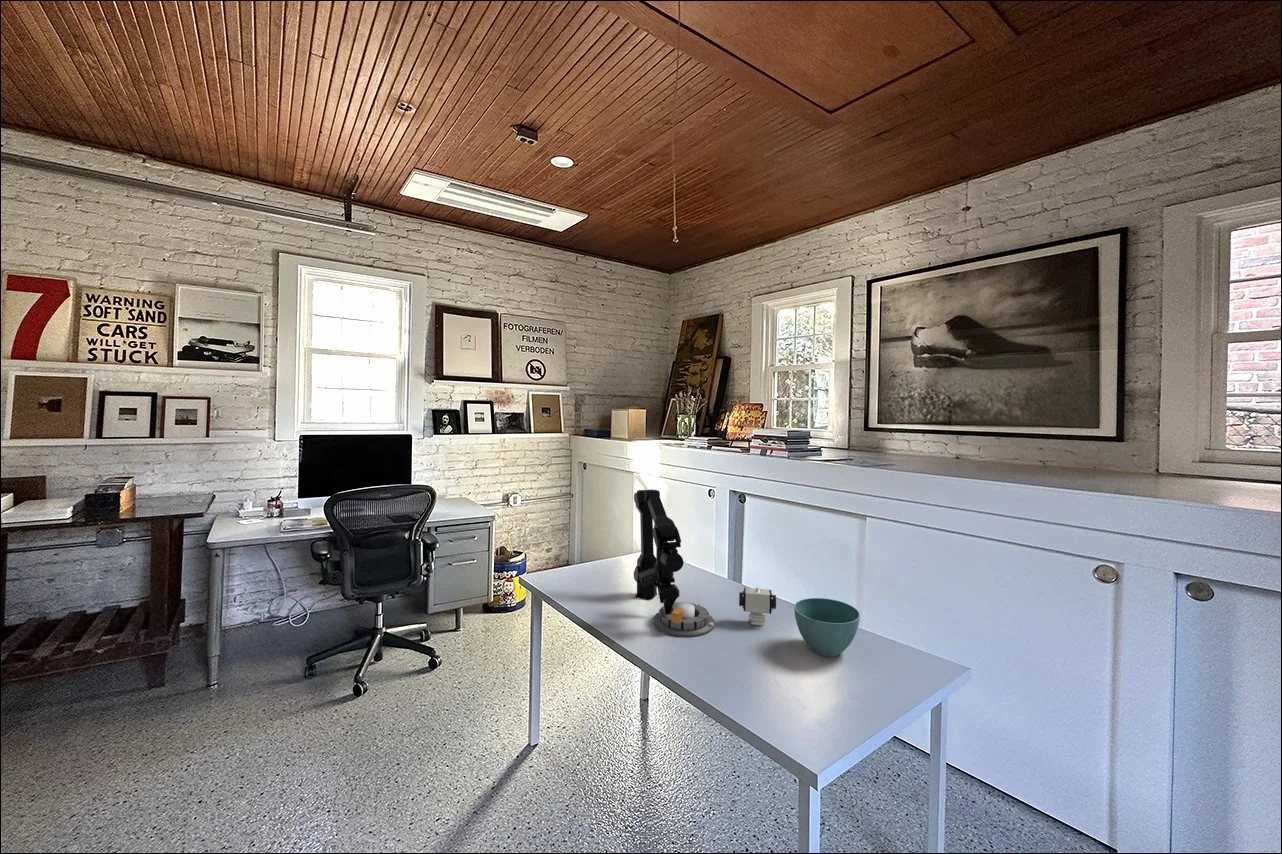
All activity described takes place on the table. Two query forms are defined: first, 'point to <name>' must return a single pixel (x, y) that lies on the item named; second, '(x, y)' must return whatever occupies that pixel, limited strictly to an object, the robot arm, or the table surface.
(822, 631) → the teal hollow rounded piece
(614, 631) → the table surface
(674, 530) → the robot arm
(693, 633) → the cap base
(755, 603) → the pneumatic valve
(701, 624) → the grey toothed bowl
